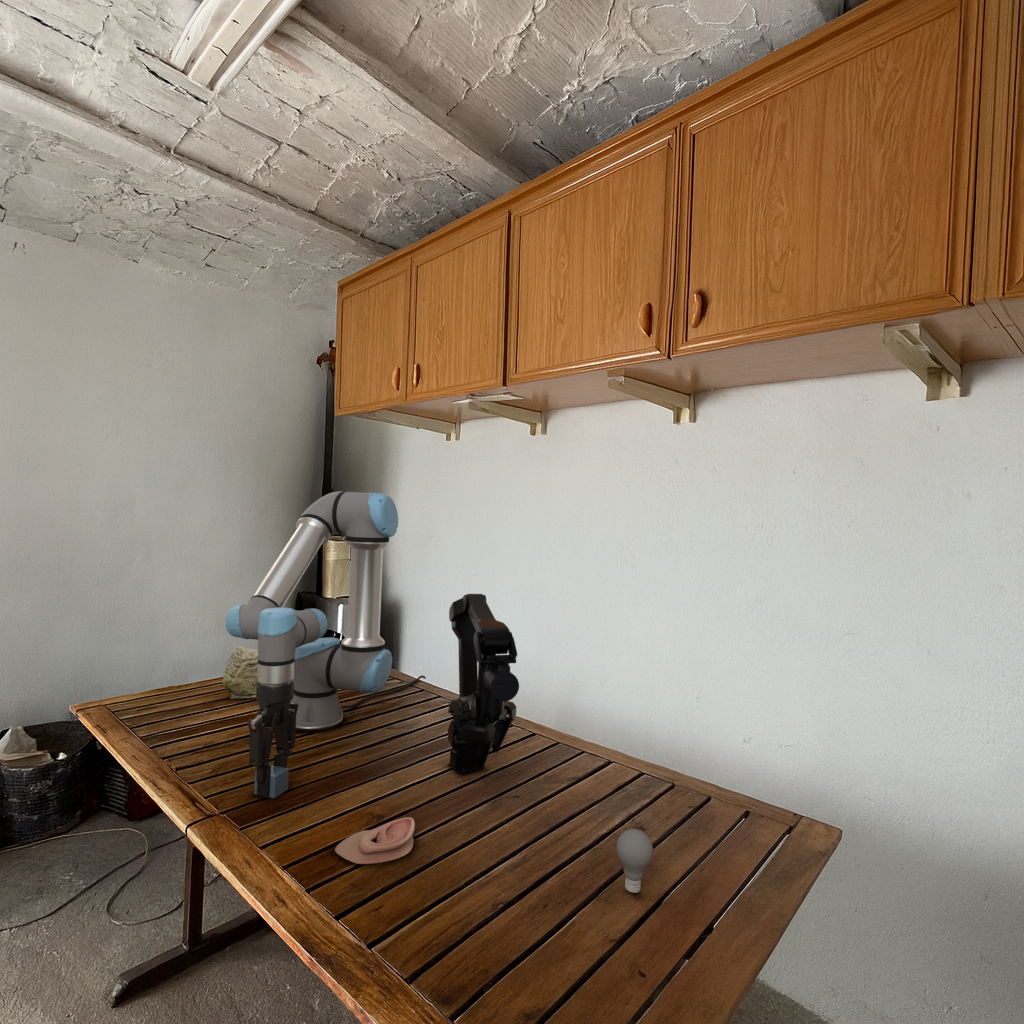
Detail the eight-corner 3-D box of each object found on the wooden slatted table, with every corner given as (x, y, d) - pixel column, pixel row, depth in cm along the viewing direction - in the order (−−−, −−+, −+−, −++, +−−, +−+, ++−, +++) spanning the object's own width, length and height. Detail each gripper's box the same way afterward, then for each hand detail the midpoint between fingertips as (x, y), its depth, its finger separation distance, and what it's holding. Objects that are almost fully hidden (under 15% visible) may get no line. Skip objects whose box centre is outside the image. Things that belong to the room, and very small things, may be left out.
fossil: (218, 695, 195) (220, 647, 195) (278, 685, 208) (279, 640, 207) (228, 703, 189) (230, 653, 188) (289, 692, 201) (290, 645, 201)
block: (268, 785, 138) (269, 764, 138) (288, 789, 136) (289, 768, 136) (254, 794, 134) (254, 772, 134) (274, 798, 132) (275, 776, 132)
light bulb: (610, 879, 108) (613, 822, 108) (644, 879, 109) (647, 822, 109) (619, 902, 102) (622, 840, 102) (655, 901, 103) (658, 840, 103)
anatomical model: (327, 836, 111) (356, 806, 122) (326, 858, 111) (355, 826, 122) (398, 848, 108) (421, 815, 119) (397, 871, 108) (420, 836, 119)
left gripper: (286, 669, 144) (283, 771, 144) (231, 690, 127) (227, 805, 128) (315, 673, 142) (311, 777, 142) (262, 695, 125) (257, 812, 126)
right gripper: (471, 670, 143) (468, 739, 144) (437, 693, 126) (433, 771, 126) (518, 676, 140) (515, 746, 140) (489, 701, 122) (486, 781, 123)
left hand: (271, 790), depth 135 cm, fingers closed on block, 4 cm apart
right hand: (487, 760), depth 132 cm, fingers open, 9 cm apart
